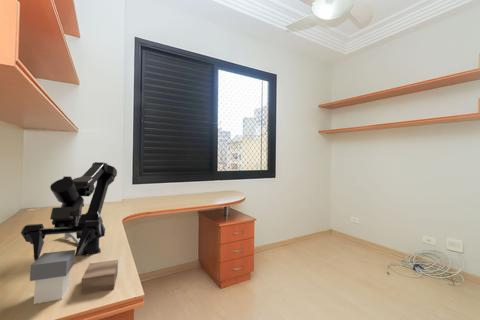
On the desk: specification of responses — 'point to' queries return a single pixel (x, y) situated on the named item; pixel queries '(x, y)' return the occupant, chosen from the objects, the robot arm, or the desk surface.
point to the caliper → (72, 237)
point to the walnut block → (99, 277)
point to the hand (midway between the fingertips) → (56, 257)
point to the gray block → (52, 265)
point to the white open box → (51, 288)
